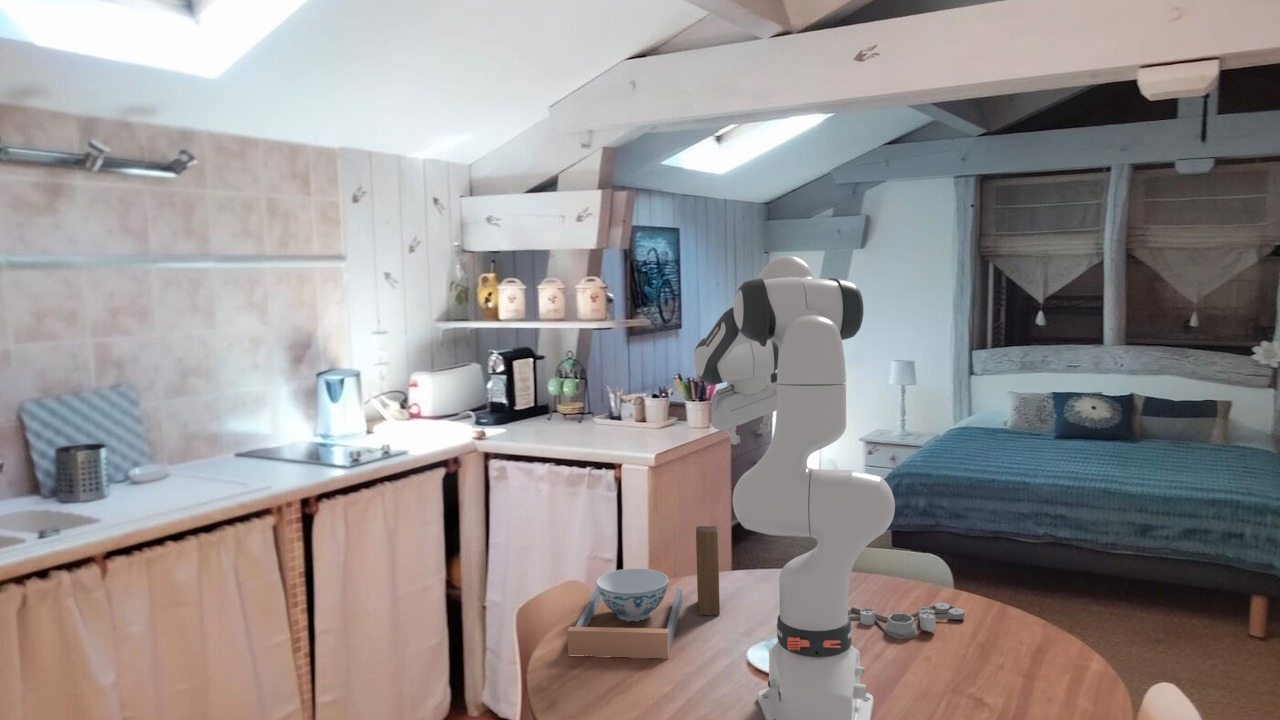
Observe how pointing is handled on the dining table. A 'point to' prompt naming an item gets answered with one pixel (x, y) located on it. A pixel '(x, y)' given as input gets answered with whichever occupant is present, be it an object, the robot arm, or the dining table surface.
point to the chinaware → (632, 592)
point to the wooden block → (707, 570)
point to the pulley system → (908, 619)
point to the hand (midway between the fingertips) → (750, 437)
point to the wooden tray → (621, 635)
